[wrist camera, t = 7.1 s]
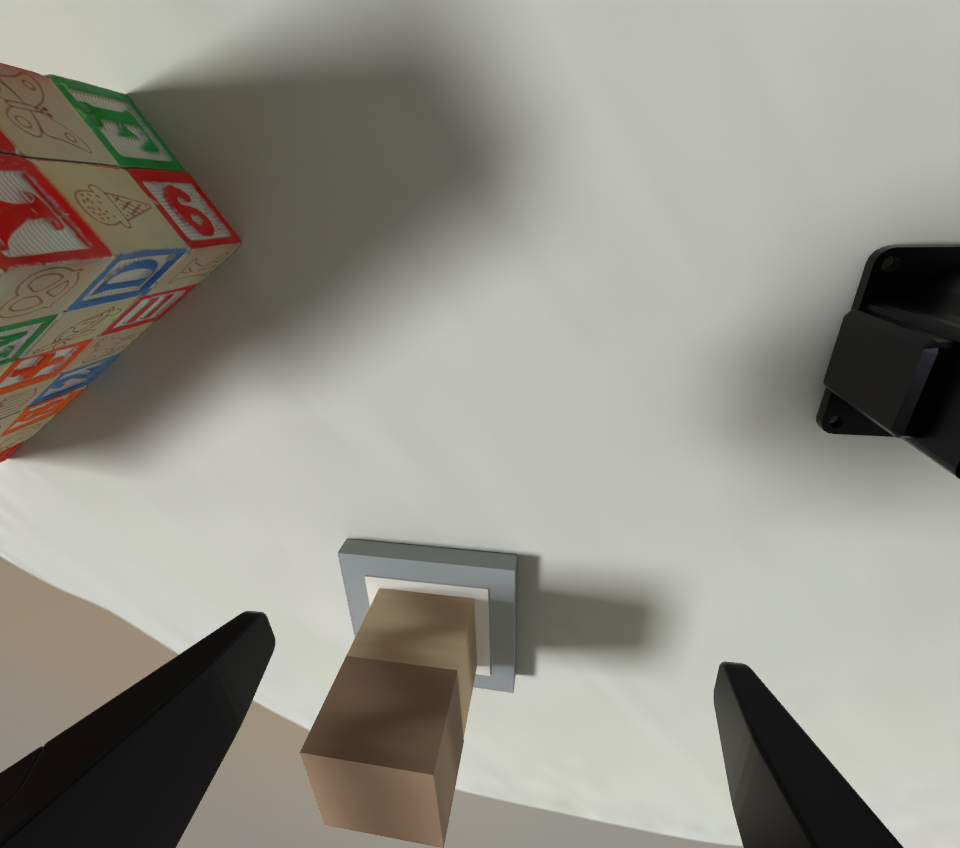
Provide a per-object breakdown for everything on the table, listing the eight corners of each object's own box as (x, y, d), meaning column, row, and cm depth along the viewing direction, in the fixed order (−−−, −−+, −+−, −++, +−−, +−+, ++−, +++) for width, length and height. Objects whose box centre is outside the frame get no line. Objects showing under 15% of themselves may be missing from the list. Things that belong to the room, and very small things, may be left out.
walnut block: (457, 670, 19) (433, 775, 16) (463, 741, 22) (443, 847, 18) (346, 655, 20) (299, 752, 17) (363, 725, 22) (325, 824, 19)
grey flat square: (517, 554, 23) (514, 572, 22) (515, 675, 27) (513, 694, 26) (346, 538, 24) (336, 554, 23) (368, 655, 28) (361, 672, 27)
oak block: (474, 598, 23) (457, 671, 19) (477, 665, 25) (462, 742, 22) (379, 587, 24) (346, 656, 20) (389, 654, 26) (362, 726, 22)
